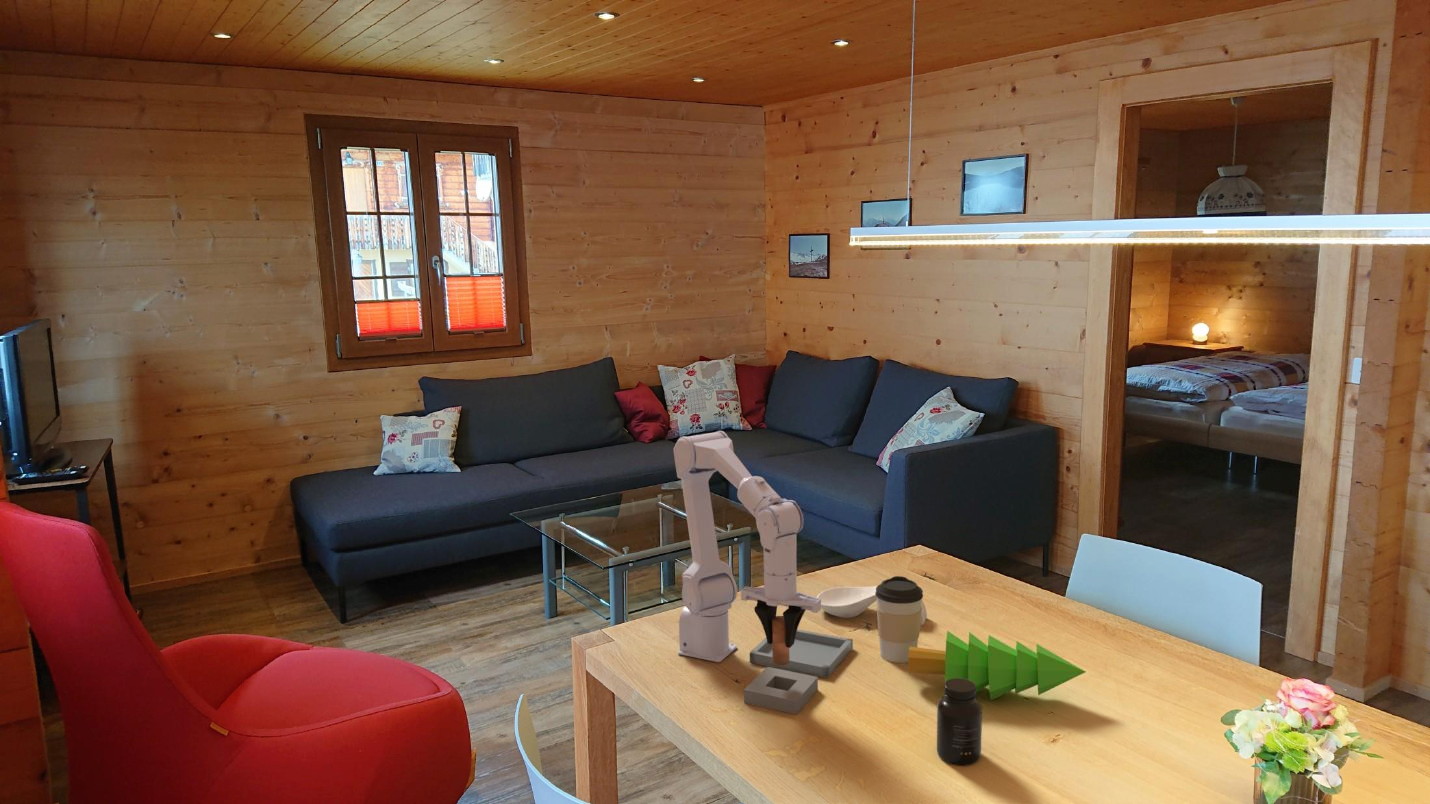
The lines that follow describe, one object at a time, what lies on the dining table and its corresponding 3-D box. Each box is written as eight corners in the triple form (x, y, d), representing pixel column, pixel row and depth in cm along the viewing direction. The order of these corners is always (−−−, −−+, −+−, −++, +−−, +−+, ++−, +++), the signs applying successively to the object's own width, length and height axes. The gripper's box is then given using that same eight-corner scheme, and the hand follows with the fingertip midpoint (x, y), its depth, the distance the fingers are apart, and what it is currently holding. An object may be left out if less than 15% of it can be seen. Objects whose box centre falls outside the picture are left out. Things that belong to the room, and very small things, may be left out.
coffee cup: (922, 667, 181) (923, 592, 178) (873, 663, 182) (874, 589, 180) (921, 646, 189) (923, 575, 187) (875, 643, 191) (876, 572, 189)
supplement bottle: (930, 745, 153) (932, 675, 151) (971, 742, 154) (973, 673, 152) (944, 768, 147) (946, 696, 144) (987, 765, 147) (989, 693, 145)
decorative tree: (910, 615, 174) (1085, 625, 166) (913, 659, 180) (1083, 671, 171) (904, 662, 165) (1089, 675, 156) (908, 707, 171) (1087, 722, 162)
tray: (749, 662, 184) (749, 652, 184) (778, 634, 196) (778, 625, 196) (827, 678, 177) (827, 668, 177) (852, 648, 189) (852, 639, 189)
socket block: (744, 702, 168) (743, 689, 168) (767, 679, 177) (767, 666, 177) (796, 714, 164) (796, 701, 163) (817, 689, 173) (817, 676, 172)
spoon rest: (810, 619, 204) (809, 588, 203) (823, 599, 215) (823, 569, 214) (921, 633, 196) (922, 600, 195) (929, 612, 207) (930, 581, 206)
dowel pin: (769, 663, 169) (769, 620, 167) (776, 656, 171) (776, 614, 170) (785, 666, 167) (785, 623, 166) (792, 659, 170) (791, 617, 169)
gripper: (732, 571, 166) (734, 644, 169) (810, 584, 160) (810, 660, 162) (750, 559, 172) (751, 629, 175) (825, 570, 166) (825, 644, 168)
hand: (780, 643), depth 169 cm, fingers closed on dowel pin, 3 cm apart
